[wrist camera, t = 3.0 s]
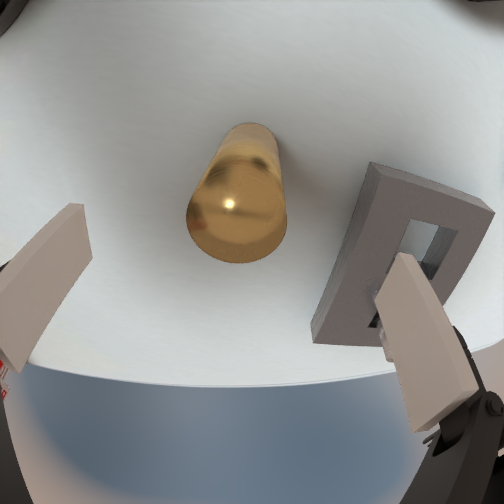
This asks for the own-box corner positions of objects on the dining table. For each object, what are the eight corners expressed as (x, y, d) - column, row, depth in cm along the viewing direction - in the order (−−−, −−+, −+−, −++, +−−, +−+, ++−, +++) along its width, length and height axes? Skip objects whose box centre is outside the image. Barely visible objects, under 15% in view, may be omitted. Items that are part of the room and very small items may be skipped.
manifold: (369, 161, 22) (408, 203, 16) (479, 198, 23) (523, 241, 16) (310, 323, 34) (316, 380, 27) (406, 329, 35) (423, 378, 28)
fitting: (226, 119, 21) (188, 169, 11) (282, 127, 21) (296, 184, 12) (219, 170, 24) (185, 256, 14) (272, 178, 24) (276, 269, 14)
